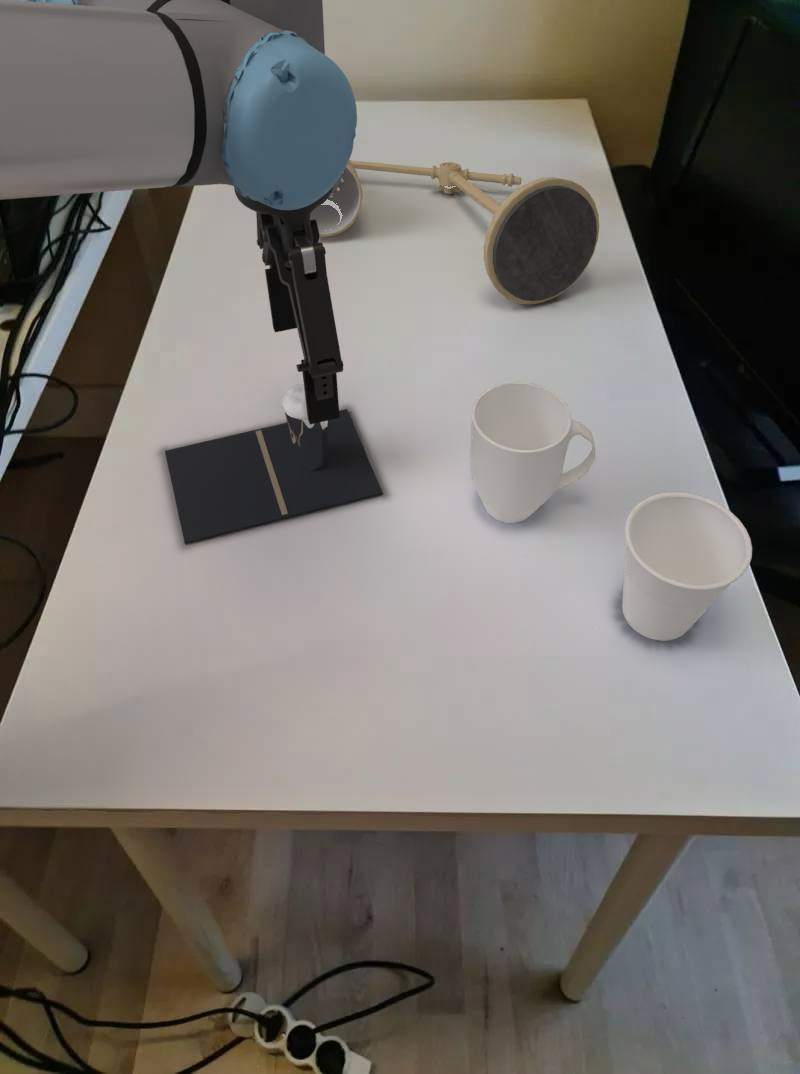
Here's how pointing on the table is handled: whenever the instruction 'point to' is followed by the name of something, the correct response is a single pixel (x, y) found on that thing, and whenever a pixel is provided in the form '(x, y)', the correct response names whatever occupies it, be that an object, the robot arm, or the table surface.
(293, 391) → the milkshake
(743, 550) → the cup
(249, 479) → the desk mat
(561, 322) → the table surface
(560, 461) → the mug
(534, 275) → the desk lamp
